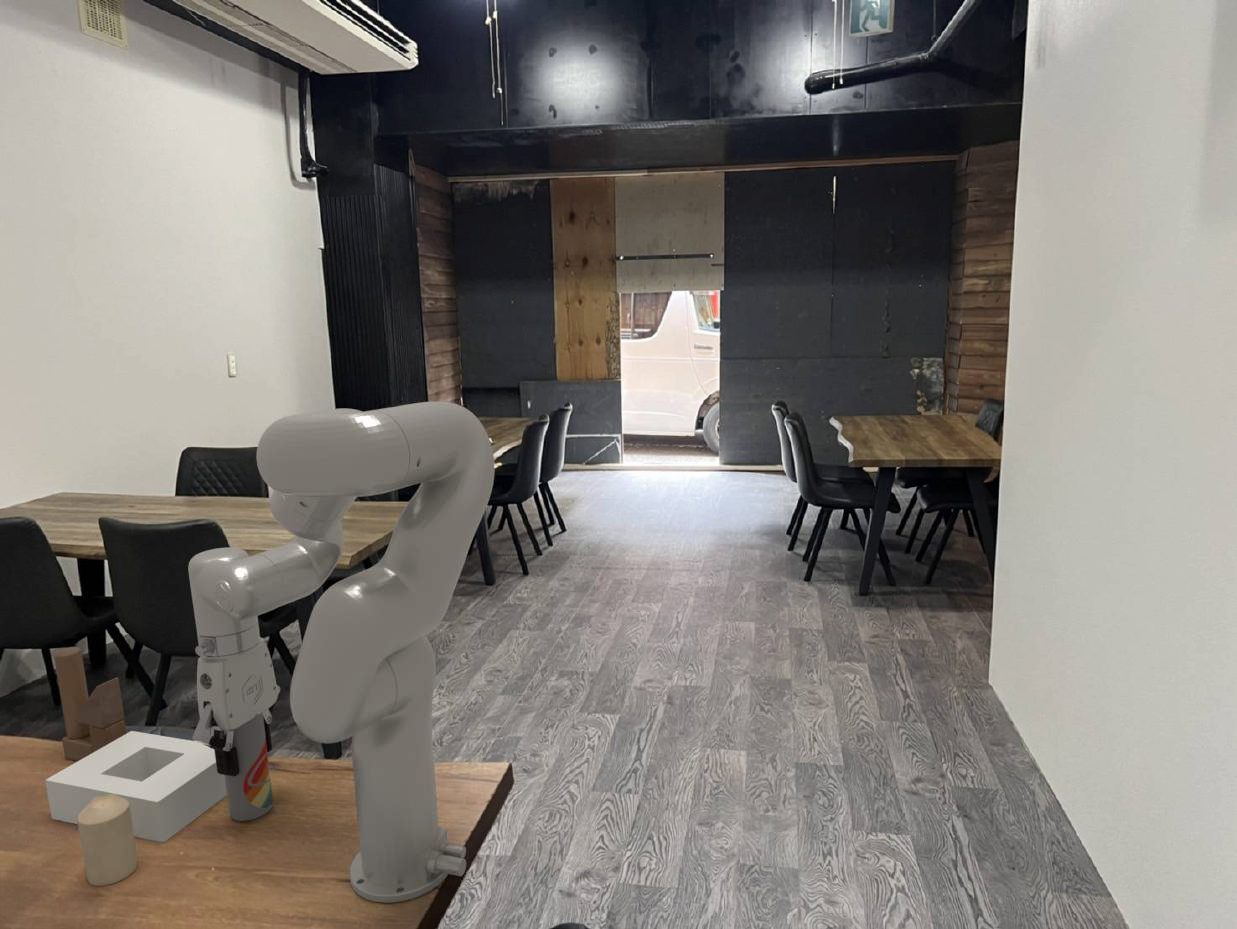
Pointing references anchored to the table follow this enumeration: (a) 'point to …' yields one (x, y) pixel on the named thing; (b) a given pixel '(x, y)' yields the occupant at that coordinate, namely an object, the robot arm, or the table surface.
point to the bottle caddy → (142, 783)
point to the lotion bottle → (250, 773)
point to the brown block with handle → (87, 707)
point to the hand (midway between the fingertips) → (245, 760)
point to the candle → (107, 840)
